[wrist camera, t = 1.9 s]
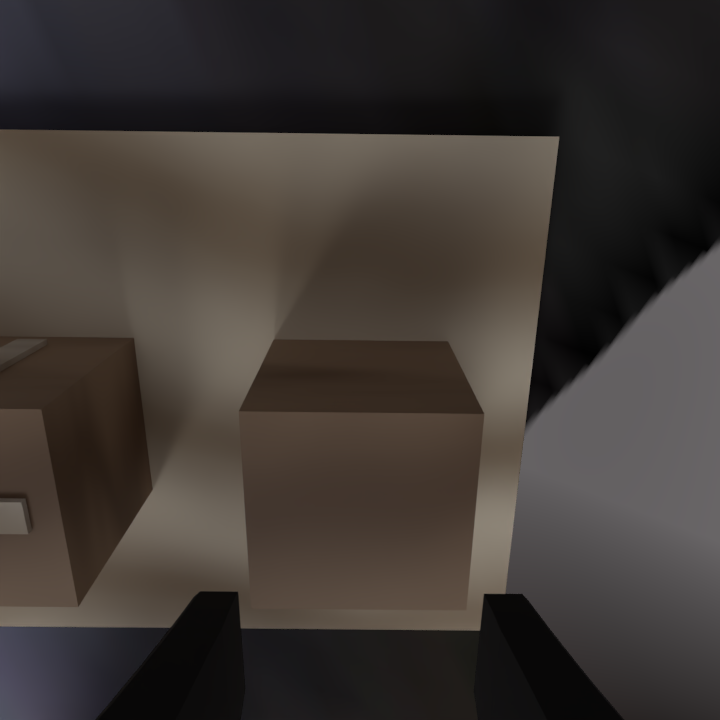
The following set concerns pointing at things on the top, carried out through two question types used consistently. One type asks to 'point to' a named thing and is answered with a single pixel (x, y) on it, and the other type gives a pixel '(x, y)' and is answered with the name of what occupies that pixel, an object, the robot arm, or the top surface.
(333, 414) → the plain block
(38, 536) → the one bar block
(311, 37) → the top surface
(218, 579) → the board
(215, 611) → the robot arm
